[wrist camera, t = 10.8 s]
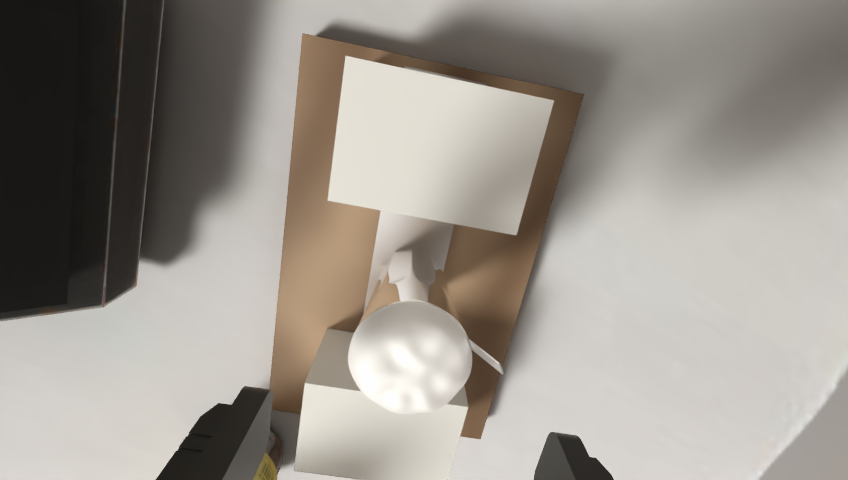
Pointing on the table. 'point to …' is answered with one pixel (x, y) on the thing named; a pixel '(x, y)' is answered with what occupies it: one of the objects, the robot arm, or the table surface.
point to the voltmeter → (74, 149)
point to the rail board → (396, 234)
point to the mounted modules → (425, 198)
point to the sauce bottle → (270, 460)
